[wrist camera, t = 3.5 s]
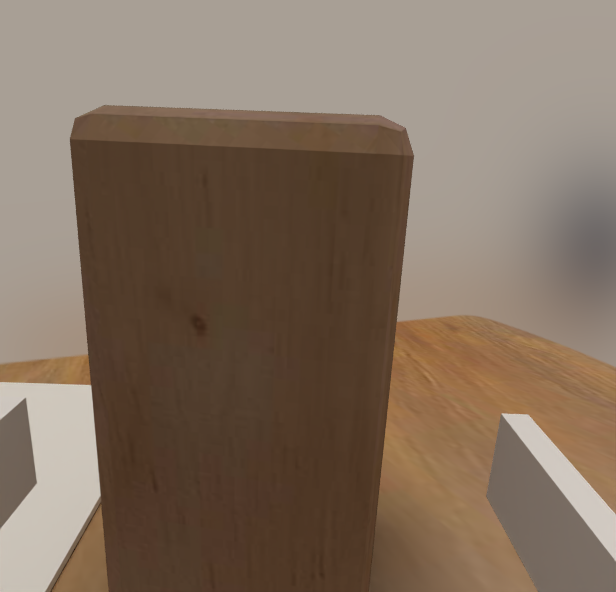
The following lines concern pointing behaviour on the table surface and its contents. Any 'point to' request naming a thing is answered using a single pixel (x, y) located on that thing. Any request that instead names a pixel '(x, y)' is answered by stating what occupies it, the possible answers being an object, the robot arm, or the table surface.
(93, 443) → the white mat
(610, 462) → the table surface
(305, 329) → the wooden block
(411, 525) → the table surface
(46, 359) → the table surface
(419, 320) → the table surface
